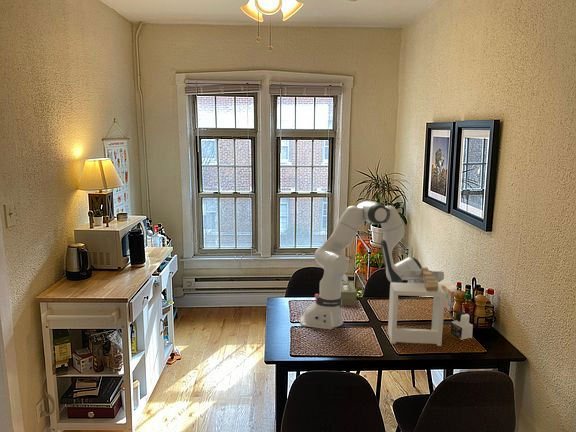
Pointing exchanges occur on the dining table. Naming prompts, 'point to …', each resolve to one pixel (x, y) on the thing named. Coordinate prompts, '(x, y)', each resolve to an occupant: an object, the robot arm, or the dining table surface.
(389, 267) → the robot arm
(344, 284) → the tissue box
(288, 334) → the dining table surface
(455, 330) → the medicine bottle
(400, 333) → the white stand
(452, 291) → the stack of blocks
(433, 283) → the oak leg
